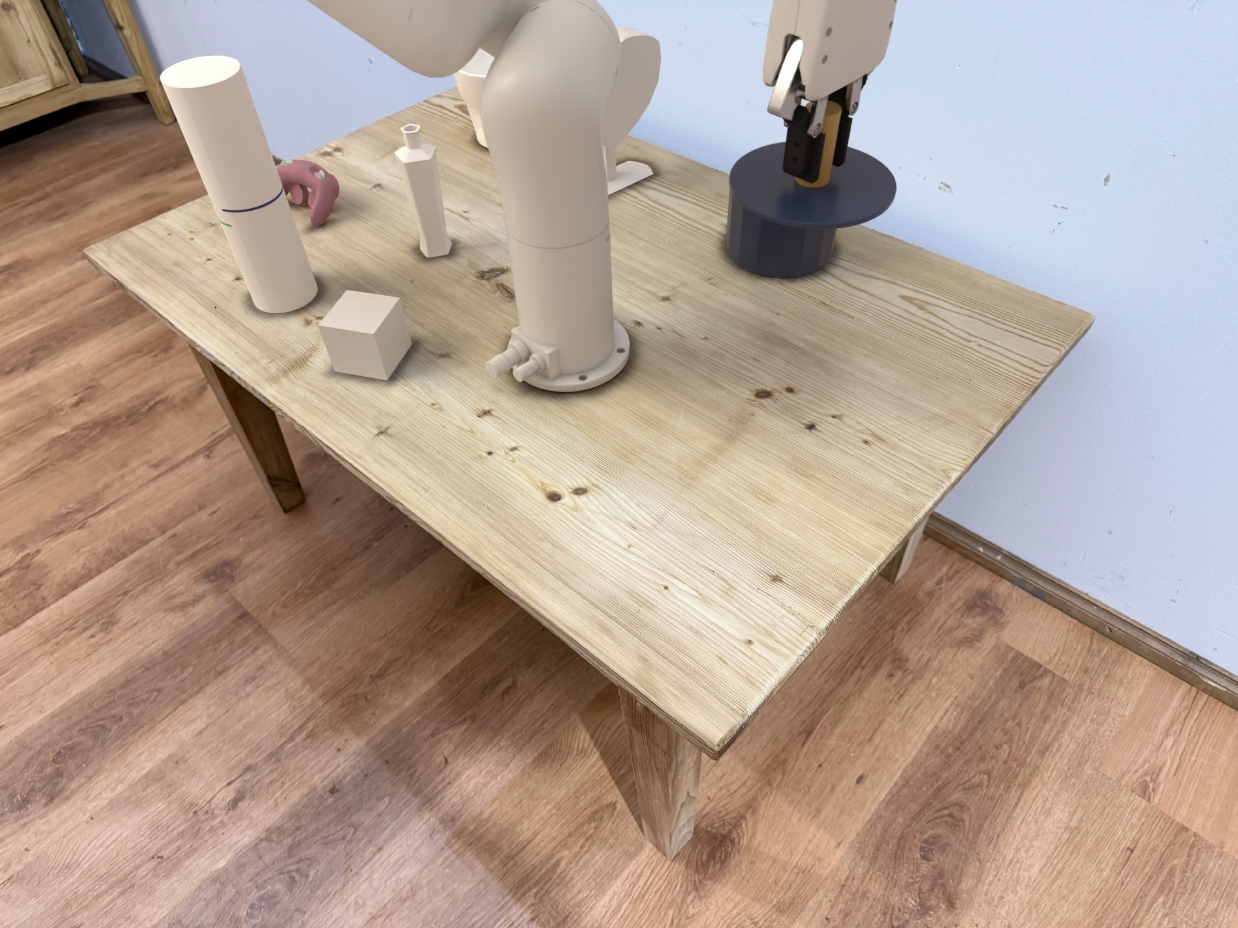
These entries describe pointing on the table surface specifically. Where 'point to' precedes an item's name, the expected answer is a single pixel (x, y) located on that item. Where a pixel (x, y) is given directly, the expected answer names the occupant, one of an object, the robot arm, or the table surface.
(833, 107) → the lid
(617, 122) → the heart sculpture
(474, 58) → the cup
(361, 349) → the white cube
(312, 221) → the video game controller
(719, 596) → the table surface
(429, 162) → the perfume bottle
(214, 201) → the cylindrical container
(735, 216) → the tin
